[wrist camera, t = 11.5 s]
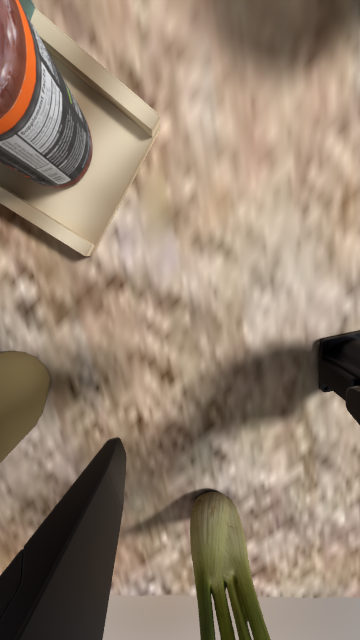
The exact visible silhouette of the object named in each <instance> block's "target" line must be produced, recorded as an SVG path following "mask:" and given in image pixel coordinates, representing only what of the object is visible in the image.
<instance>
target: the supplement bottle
mask: <svg viewBox="0 0 360 640" xmlns="http://www.w3.org/2000/svg"><path fill="white" fill-rule="evenodd" d="M92 154H93V144H92V137H91V133H90V129H89V126H88V123H87V121H86V119H85V117H84V115H83V112H82V111H81V109H80V107H79V105H78V103H77V102H76V100H75V98H74V96H73V95H72V93H71V91H70V89H69V88H68V86H67V84H66V82H65V81H64V79H63V77H62V75H61V74H60V72H59V70H58V68H57V66H56V65H55V63H54V61H53V59H52V57H51V56H50V54H49V52H48V51H47V49H46V47H45V45H44V44H43V42H42V40H41V39H40V37H39V35H38V33H37V31H36V30H35V28H34V26H33V24H32V23H31V21H30V19H29V17H28V16H27V14H26V12H25V11H24V9H23V7H22V5H21V3H20V1H19V0H0V163H2V164H4V165H6V166H7V167H9V168H11V169H12V170H14V171H16V172H18V173H20V174H21V175H23V176H25V177H26V178H28V179H30V180H32V181H34V182H36V183H39V184H41V185H44V186H47V187H52V188H65V187H68V186H71V185H73V184H75V183H77V182H78V181H80V180H81V179H82V178H83V176H84V175H85V173H86V172H87V170H88V168H89V166H90V163H91V160H92Z"/></svg>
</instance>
